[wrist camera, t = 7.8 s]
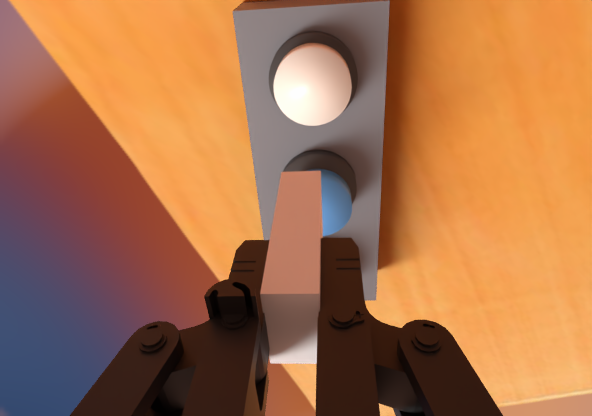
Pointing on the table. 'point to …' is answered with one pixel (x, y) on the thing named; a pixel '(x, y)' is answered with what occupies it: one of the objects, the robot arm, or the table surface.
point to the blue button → (334, 201)
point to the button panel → (327, 137)
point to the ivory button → (312, 84)
